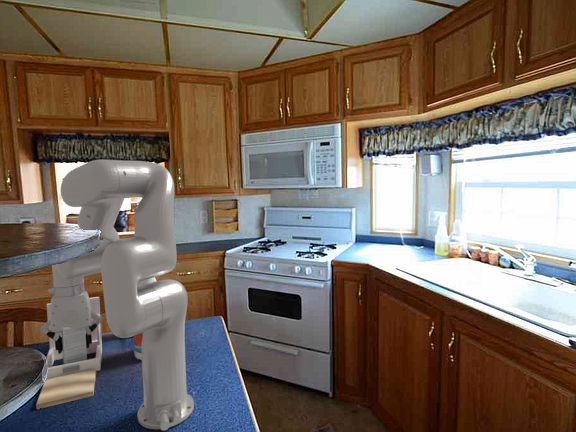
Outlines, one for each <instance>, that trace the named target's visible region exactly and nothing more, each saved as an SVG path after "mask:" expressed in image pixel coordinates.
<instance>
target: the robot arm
mask: <svg viewBox="0 0 576 432" xmlns="http://www.w3.org/2000/svg"><path fill="white" fill-rule="evenodd" d="M60 196H61V199H62V201H63V202H64V204H66V205H67V206H68V207H70V208H71V207H72V208H80V211H79V214H78V216H77V220H76V221H77V225H78V227H79V228H80V229H81V230H82V229H83V230H96V229H100V231H101V233H100V237H99V238H101V239H102V241H101V244H100V246H96V247H97V248H96V249H95V250H94V251H92V252H90V253H87V254H85V255H83V256H80V257H78V258H76V259H74V260H72V261H69V262H66V263H62V264H56V265H52V264H51V269H52V281H53V282H52V283H53V287H50V288H47V294H52V295H53V296H52V297H51V298H50V303H51V305H50V320H49V321H48V320H47V321H46V322H45V323H44V325H42V326H41V328H40V329H39V331H40V332H41V333H42V334H44V335H46V336H47V337H48V338H49V337H50V338H52V339H53V340H54V341H55V349H56V350H58V354H60V353H62V350H63V348H62V337H61V336H60V333H61V332H62V331H63V330H62V329H63V328H67V327H71V328H72V329H81V328H85V331H86V348H89V345H90V344H91V343H92V335H91V333H92V332H93V331H94V330H95V329H96V327H97V326H98V325H99V324H100V323H101V324H102V321H103V317H102V316H101V315H100V316H99V315H97V314H95V313H94V312H92V311H91V305H90V300H89V298H90V297H89V293H88V291H87V290H86V289H85V278H84V277H86V276H91V275H95V274H98V273H99V274H100V273H101V281H102V292H103V302H104V309H105V312H104V313H105V317H106V322H107V326H108V327H109V329H110V331H111V333H112V334H113V335H115V337H117V338H120V339H127V338H131V337H132V338H133V336H135V335H137V334H139V333H142V332H144V334H143V338H142V344H141V351H142V360H141V367H142V370H141V371H142V386H143V390H142V391H143V403H142V404H141V405H140V407H139V408H138V411H137V416H136V417H137V421H138V424H140V425H141V426H142V427H144V428H146V429H149V430H161V431H164V432H165V431H167V430H168V429H169V428H171V427H172V428H173V427H174V426H177V425H179V424H181V423H182V422H184V421H186V419H189V416H191V414H192V413H193V411H194V408H195V402H194V397H192V395H190V393H189V394H188V393H187V368H186V367H187V366H186V342H185V341H186V338H185V337H186V336H185V334H186V333H185V324H186V317H187V311H188V303H189V302H188V300H189V298H188V293H187V290H186V288H185V286H184V285H183V283H181V282H179V281H178V280H175V279H171V278H170V279H159V280H156V282H152V283H149V284H146V285H143V286H140V287H137V286H138V282H139V281H143V280H146V279H150V278H154V277H155V278H156V277H160V276H162V275H166V274H168V273H170V272H171V271H173V270H174V269H175V267H176V266H177V263H178V262H177V260H178V257H177V255H178V254H177V245H176V244H177V241H176V229H175V221H174V203H175V182H174V179H173V176H172V174H171V173H170V171H169V170H168V169H167V168H166V167H165V166H163V165H161V164H158V163H156V162H150V161H144V160H120V159H95V160H91V161H88V162H86V163H84V164H82V165H80V166H77V167H76V168H73V169H72V170H70V171H68V172H67V173H66V174H65V176H64V177H63V179H62V181H61V185H60ZM129 198H131V199H132V198H141V200H140V201H139V203H138V204H137V207H136V208H135V210H134V213H133V217H132V218H133V229H134V234H133V237H129V238H127V237H126V238H123V239H122V238H121V239H120V235H119V233H118V231H117V230H116V228H115V223H116V221H117V219H118V216H119V213H120V210H121V208H122V206H123V204H124V201H125V199H129ZM83 230H82V231H83ZM92 318H93V319H95V320H96V321H95V323H93V324H92V326H90V325H91V322H92ZM50 325H51V330H49V329H48V327H49V326H50ZM55 332H56V333H55Z"/></svg>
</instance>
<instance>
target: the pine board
mask: <svg viewBox="0 0 576 432" xmlns="http://www.w3.org/2000/svg"><path fill="white" fill-rule="evenodd" d="M96 376H97V371H96V369H93V370H88V371H83V372H79V373H74V374H69V375H65V376H60V377H55V378H51V379H46V380H45V382H44V383H43V386H42V388H41V390H40V394H39V396H38V399H37V401H36V404H35V407H36V409H37V410H40V408H41V409H44V408H49V407H54V406H57V405H62V404H64V403H65V404H66V403H69V402H72V401H73V402H74V401H77V400H82V399H85V398H89V397H93V396H94V393H95V384H96Z"/></svg>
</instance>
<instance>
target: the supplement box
mask: <svg viewBox="0 0 576 432" xmlns="http://www.w3.org/2000/svg"><path fill="white" fill-rule="evenodd" d="M62 330H63V331H62V348H63V359H62V360H63V365H64V364H69V363H74V362H79V361H84V360H88V356H87V355H88V354H87V351H86V335H85V328H81V329H72V328H71V327H67V328H63V329H62Z"/></svg>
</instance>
